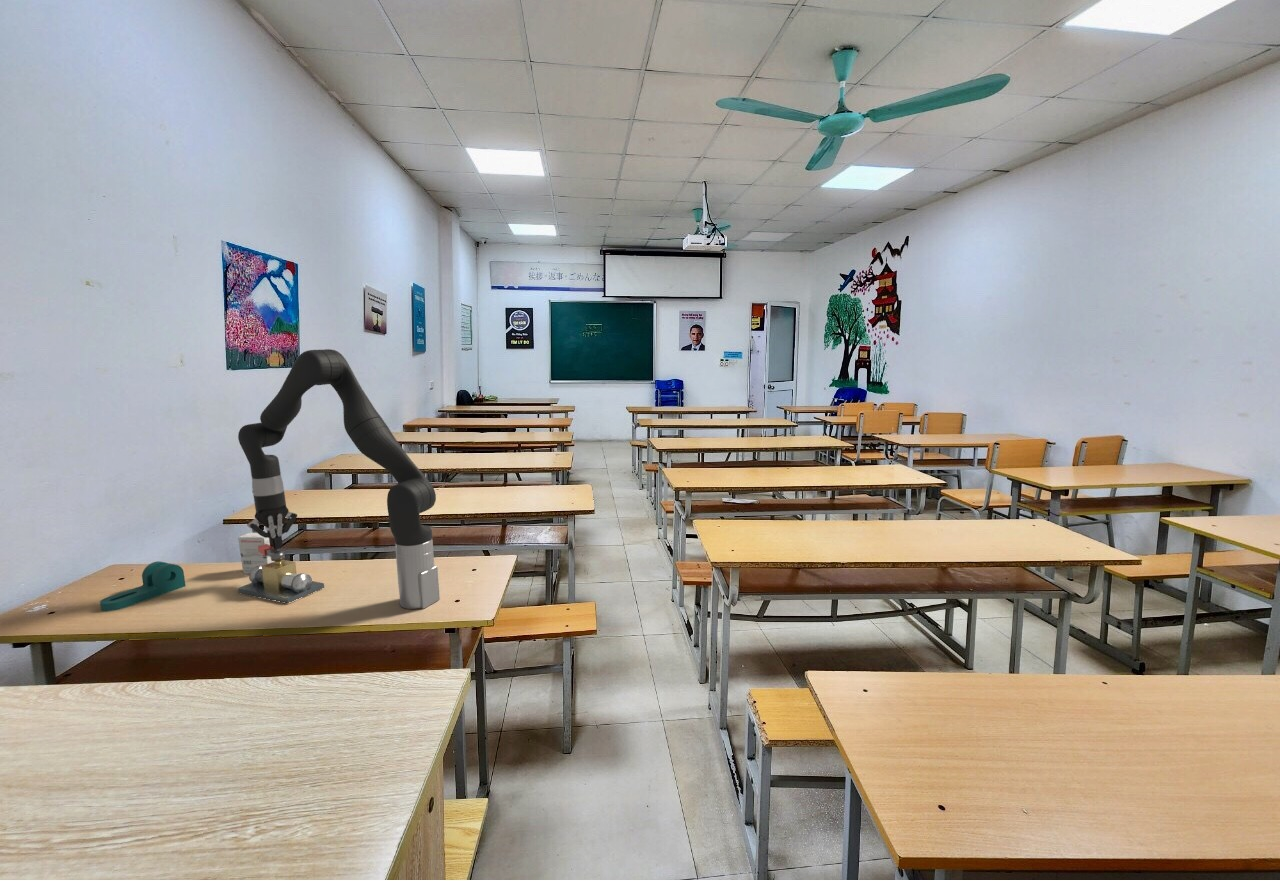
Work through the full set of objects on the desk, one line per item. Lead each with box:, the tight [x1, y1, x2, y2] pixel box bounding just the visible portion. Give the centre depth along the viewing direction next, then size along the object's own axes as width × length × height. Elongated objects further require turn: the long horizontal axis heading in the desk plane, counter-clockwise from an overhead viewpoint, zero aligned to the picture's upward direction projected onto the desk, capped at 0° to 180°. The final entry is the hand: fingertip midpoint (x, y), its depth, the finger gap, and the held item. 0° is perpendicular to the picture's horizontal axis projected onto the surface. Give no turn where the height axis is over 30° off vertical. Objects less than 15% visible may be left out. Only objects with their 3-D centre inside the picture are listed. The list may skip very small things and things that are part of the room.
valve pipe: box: [237, 559, 325, 604], centre depth 162 cm, size 20×11×9 cm, turn 68°
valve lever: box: [258, 544, 286, 561], centre depth 164 cm, size 3×13×2 cm, turn 52°
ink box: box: [238, 532, 274, 575], centre depth 176 cm, size 9×5×12 cm, turn 84°
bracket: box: [99, 561, 186, 612], centre depth 159 cm, size 18×7×8 cm, turn 158°
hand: (277, 548), depth 169 cm, fingers closed
